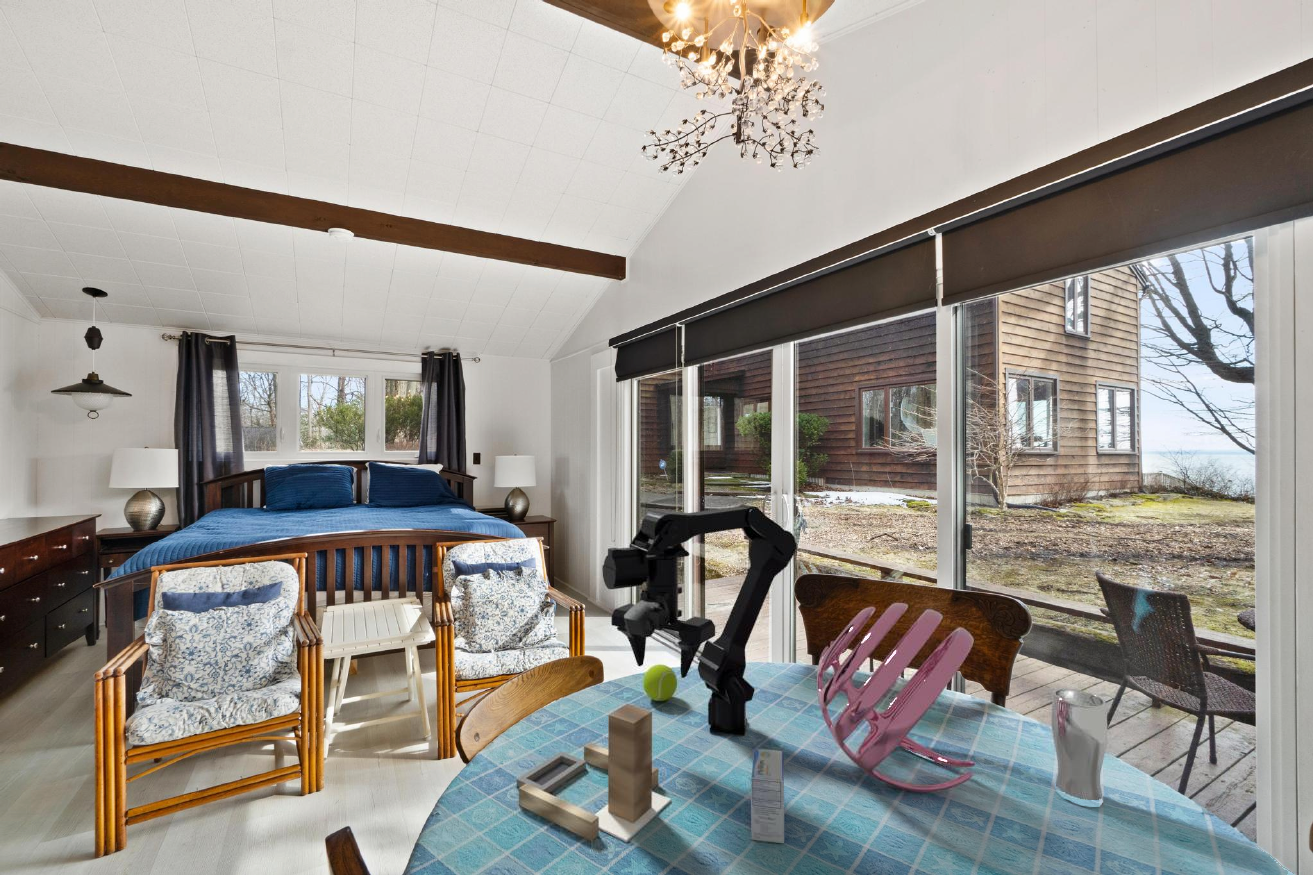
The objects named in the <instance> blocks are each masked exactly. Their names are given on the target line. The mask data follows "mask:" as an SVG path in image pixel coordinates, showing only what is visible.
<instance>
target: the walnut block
mask: <svg viewBox="0 0 1313 875" xmlns="http://www.w3.org/2000/svg"><path fill="white" fill-rule="evenodd" d="M607 737H608V741H607V742H608V746H607V747H608V748H607V749H608V771H607V772H608V774H607V775H608V776H607V777H608V778H607V779H608V780H607V782H608V783H607V784H608V788H607V791H608V792H607V793H608V794H607V796H608V798H607V800H608V802H607V804H608V812H609V813H611V814H613V815H616V816H618V817H620V818H622V819H624V820H627V821H629V822H631V823H633V824H634V823H635V822H636V821H637V820H638V819H639V818H640V817H641V816H642V815H644V814H645V813H646V812H647V811H648V810H649V809H650V808H651V807H652V792H653V789H652V766H653V711H652V710H649V709H646V708H643V707H640V706H637V705H633V704H631V703H626V704H624V705H622V706H621V707H619V708H617V709H616V710H614V711H612V712H611V713H609V714H608V736H607Z"/></svg>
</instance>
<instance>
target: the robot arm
mask: <svg viewBox="0 0 1313 875" xmlns="http://www.w3.org/2000/svg"><path fill="white" fill-rule="evenodd" d="M738 529H739V530H740V529H741V530H742V531H743V534H744V536H746V538H747V539H749V541H751V544H750V548H749V564H750V565H749V569H748V572H747V573H746V576H745V578H744V581H743V583H742V585H741V588H740V591H739V592H738V595H737V597H736V599H735V602H734V604H733V607H732V609H731V611H730V613H729V615H728V618H727V621H726V623H725V626H724V627H723V630H722V633H721V634H720V636H719V637H718V638H717V639H715V640H714V641H713V642H712V641H711V640H710V639H712V638H713V637H715V636H716V625H715V623H714V622H713V620H712V619H709V618H704V617H699V616H693V617H690V618H689V619H686V620H681V619H679V618H680V617H682V616H683V610H682V609H679V595H680V594H682V593H683V586H679V558H685V557H689V556H690V552H689V551H688V550H686V549H685V548H684V547H683V545H682V544H684V543H685V542H686V543H687V542H688V541H689V540H691V539H692V538H694V537H697V536H699V535H706V534H713V533H718V532H726V531H731V530H738ZM649 542H652V543H649ZM797 545H798V544H797V542H796V537H795V536H794V534H793V533H792V532H791V531H789V530H786V529H784V528H783V527H782V526H781V525H779V524H778V523H776V521H774V520H773V519H771V518H770V517H768V516H767V515H766V514H765V513H764V512H763V511H762V510H761V509H760V508H758V507H756V506H754V505H748V504H740V505H738V506H731V507H722V508H717V509H715V508H714V509H710V510H709V509H708V510H702V511H701V510H700V511H694V512H679V511H671V510H660V509H659V510H657V509H655V510H654V509H653V510H650V511H648V512H646V514H645V516H644V517H643V519H642V521H641V525H640V528H639V530H637V532H636V534H635V536H634V538H633V539H632V540H631V541H630V543H629V545H628V546H629V547H621V548H619V547H609V548H608V549H607V555H606V556H605V558H604V561H603V565H602V569H601V570H602V578H603V582H604V586H605V587H606V588H607V589H608V590H616V589H617V590H618V589H626V588H634V587H641V586H642V585H643V584H644V583H645V588H643V589H641V591H640V597H639V598H640V599H639V600H638V602H637V603H635V604H633V603H627V604H625V605H621V606H619V607H616V608H614V610H613V612H612V614H611V618H610V619H611V620H610V622H611V626H614V627H616V629H617V631H619V632H621V633H622V634H624V636H625V637H627V639H628V641H629V644H630V647H631V650H632V653H633V656H634V659H635V661H636V665H637V666H638V667H642V666H643V665H644V660H645V656H646V655H645V654H646V647H647V646H646V645H647V644H646V643H647V638H649V637H651V636H652V635H653V634H654V632H655V631H660V632H661V631H662V630H668V631H673V632H674V631H675V632H678V637H679V639H681V640H679V641H677V643H676V644H677V645H678V646H679V648H680V677H681V679H685V678H686V677H687V676H688V674H689V671H690V668H691V666H692V664H693V661H694V658H695V656H696V655H697V653H698V651H699V648H700V646H701V645H702V644H703V643H704V646H703V649H702V652H701V654H700V655H699V656H698V657H697V661H699V663H698V665H697V672H698V675H699V678H700V680H702V681H703V682H704V684H705V686H706V688H707V689H708V690H710V691H712V692H711V696H710V697H709V700H708V703H707V724H708V726H709V733H711V734H718V735H726V736H727V735H728V736H738V737H746V732H747V724H748V719H747V702H750V701H752V700H753V697H754V693H755V688H754V686H752V685H751V684H750V683H749V682H748V681H747V680H746V679H745V678H744V675H745V671H746V668H747V661H746V660H747V659H746V646H747V644H748V642H749V639H750V637H751V635H752V632H753V630H754V627H755V625H756V623H757V620H758V618H759V615H760V612H761V609H762V608H763V605H764V603H765V601H766V598H767V595H768V593H769V591H770V588H771V585H772V584H773V581H774V579H775V577H777V575H778V574H780V573H781V572H782V571H783V570H785V569H786V568H787V567H788V565H789V564H790V562H791V560H792V559H793V557H794V555H795V553H796V551H797V547H798V546H797Z"/></svg>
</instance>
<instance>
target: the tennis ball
mask: <svg viewBox="0 0 1313 875" xmlns="http://www.w3.org/2000/svg"><path fill="white" fill-rule="evenodd" d="M677 678H678V677H677V675H676V673H675V672H674V670H673V669H672V668H671V667H669V666H667V665H666V664H655V665H653V666H651V667H649V669H648V670H647V671H646V672H645V674H644V676H643V682H642V683H643V689H644V692H645V693H646V695H647V696H648V697H649V698H650V699H652V700H653V701H658V702H662V701H663V702H664V701H667V700H669V699H670V698H671V697H672V696H674V694H675V692H676V690H677V687H678V679H677Z"/></svg>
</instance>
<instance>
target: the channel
mask: <svg viewBox="0 0 1313 875" xmlns="http://www.w3.org/2000/svg"><path fill="white" fill-rule="evenodd" d="M583 760H584V761H586V764H590V765H592V766H594V767H598V768H600V769H602V770H604V771H607V772H608V748H606V747H602V746H600V745H597V744H595V743H592V742H589V743H587V744H586V745H584V746H583ZM658 785H659V768H658V767H655V766H653V765H652V790H653V789H654V788H656V787H657V786H658ZM518 806H519V807H521V808H524V809H526V810H528V811H530V812H532V813H534V814H536V815H538V816H540V817H542V818H544V819H546V820H548V821H550V822H551V823H554V824H557V825H558V826H560V827H562V828H564V829H565V830H566V829H567V830H568V831H570V832H572V833H574V834H576V835H578V836H580V837H582V838H584V839H587V840H588V841H590V842H593V841H594V840H595V839H596V838H597V837H599V836H600V835H599V834H600V829H599V817H598V816H596V815H595V814H594V813H591V812H589V811H587V810H585V809H583V808H581V807H578V806H576V805H574V804H572V803H570V802H568V801H566V800H563V799H561V798H559V797H557V796H554V795H552V794H551V793H550V794H549V793H546V792H544V791H542V790H540V789H538V788H536V787H533V786H531V785H529V784H527V783H526V784H525V785H523V786H521V787H520V788H518Z"/></svg>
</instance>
